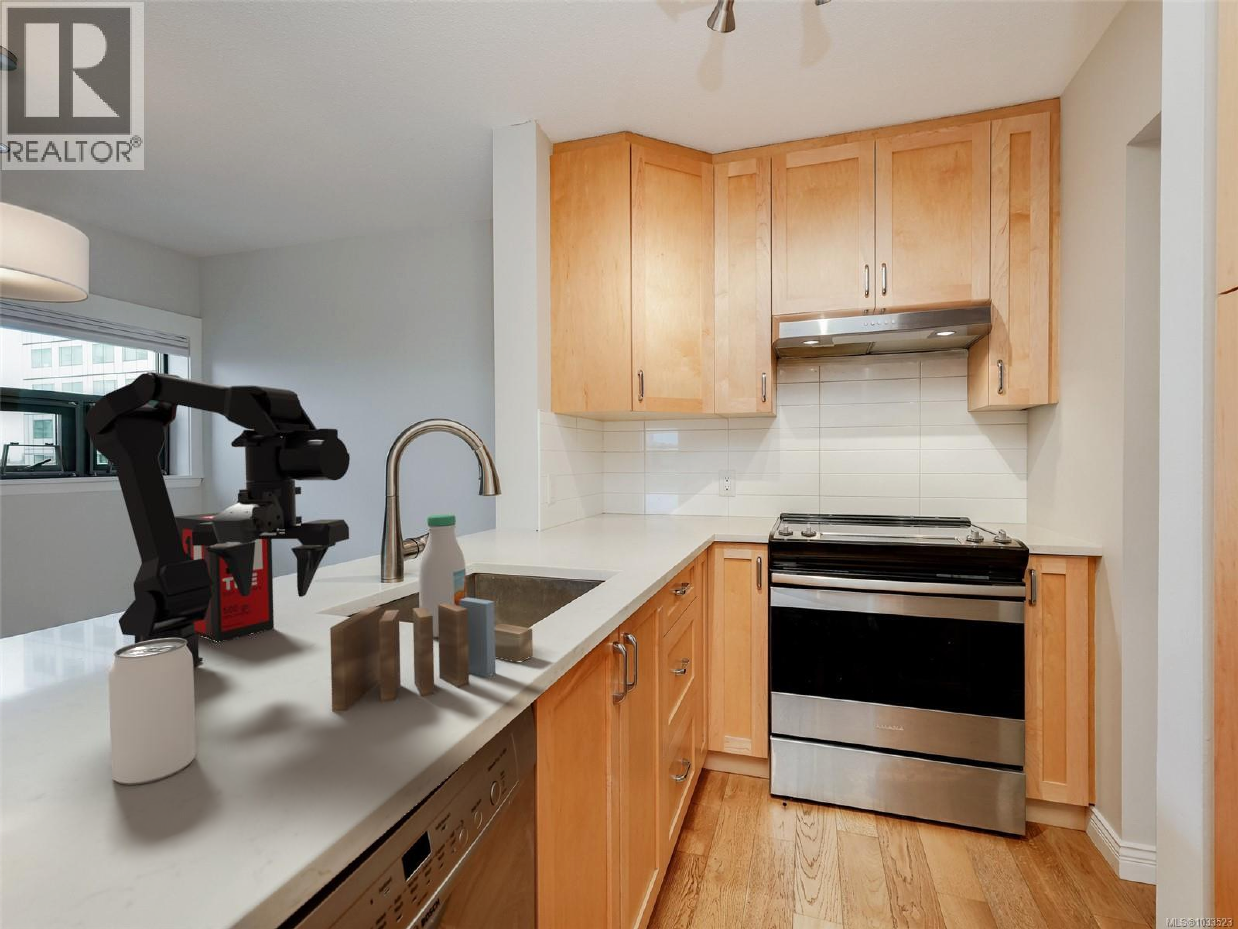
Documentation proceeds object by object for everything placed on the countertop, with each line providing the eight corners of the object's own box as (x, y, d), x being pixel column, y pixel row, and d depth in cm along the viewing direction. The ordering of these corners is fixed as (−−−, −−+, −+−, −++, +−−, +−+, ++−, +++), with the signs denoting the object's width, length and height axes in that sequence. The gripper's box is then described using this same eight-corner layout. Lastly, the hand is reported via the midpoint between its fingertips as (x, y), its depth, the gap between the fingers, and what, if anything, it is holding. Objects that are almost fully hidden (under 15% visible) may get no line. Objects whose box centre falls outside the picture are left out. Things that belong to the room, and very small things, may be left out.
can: (143, 753, 61) (140, 637, 61) (210, 750, 62) (206, 635, 61) (93, 789, 55) (89, 659, 54) (168, 785, 55) (164, 656, 55)
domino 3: (421, 696, 74) (419, 617, 74) (414, 683, 79) (412, 608, 79) (434, 694, 75) (432, 615, 75) (426, 681, 80) (425, 606, 79)
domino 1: (332, 711, 71) (330, 627, 70) (370, 680, 80) (369, 606, 80) (345, 711, 70) (343, 627, 70) (382, 680, 80) (380, 606, 80)
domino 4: (458, 688, 77) (456, 611, 77) (439, 677, 81) (437, 604, 80) (468, 684, 78) (467, 609, 78) (450, 674, 82) (448, 602, 82)
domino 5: (487, 677, 81) (486, 604, 80) (460, 671, 83) (459, 599, 83) (495, 673, 82) (494, 601, 82) (468, 667, 84) (467, 597, 84)
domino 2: (380, 701, 73) (379, 621, 73) (387, 686, 78) (386, 610, 78) (394, 700, 73) (392, 620, 73) (400, 685, 78) (398, 609, 78)
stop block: (519, 663, 86) (519, 634, 86) (488, 656, 89) (487, 628, 89) (532, 656, 88) (532, 628, 88) (501, 650, 91) (501, 623, 91)
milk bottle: (441, 641, 96) (439, 518, 96) (410, 634, 100) (407, 516, 100) (476, 629, 103) (474, 514, 102) (445, 623, 107) (443, 512, 107)
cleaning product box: (173, 628, 106) (170, 516, 106) (228, 616, 114) (225, 512, 113) (218, 642, 97) (214, 521, 97) (273, 628, 105) (270, 516, 105)
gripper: (154, 484, 72) (158, 612, 73) (302, 483, 71) (305, 612, 72) (221, 480, 83) (224, 590, 84) (349, 479, 82) (352, 590, 83)
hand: (273, 596), depth 80 cm, fingers open, 8 cm apart
